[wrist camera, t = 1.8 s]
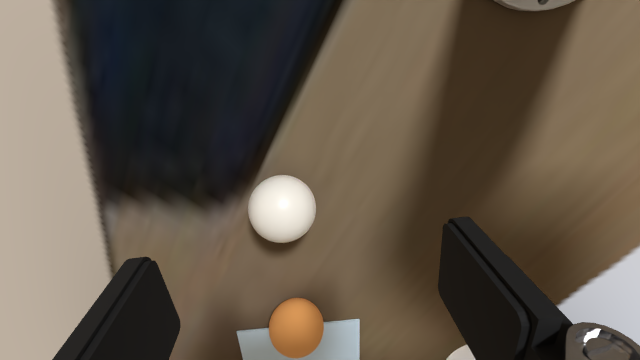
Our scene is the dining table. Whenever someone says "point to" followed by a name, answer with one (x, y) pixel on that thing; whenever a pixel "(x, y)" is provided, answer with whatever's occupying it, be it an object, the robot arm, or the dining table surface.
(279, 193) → the cue ball
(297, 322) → the orange ball
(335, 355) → the blue mark
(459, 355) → the wineglass
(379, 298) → the dining table surface
